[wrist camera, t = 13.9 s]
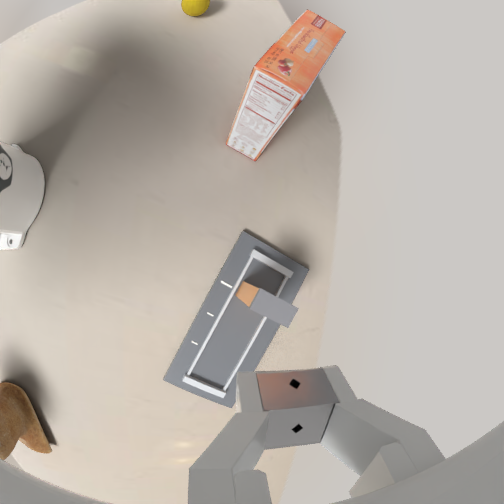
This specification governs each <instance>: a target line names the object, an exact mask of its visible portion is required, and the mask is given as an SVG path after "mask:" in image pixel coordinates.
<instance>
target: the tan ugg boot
mask: <svg viewBox="0 0 504 504" xmlns="http://www.w3.org/2000/svg"><path fill="white" fill-rule="evenodd" d="M18 440H20V441H21V442H22V443H23V444H25V445H26V446H27V447H28V448H30V449H32V450H34V451H36V452H40V453H50V452H52V449H51V447H50V445H49V442H48V440H47V438H46V436H45V434H44V431H43V429H42V427H41V425H40V422H39V420H38V418H37V416H36V413H35V411H34V409H33V407H32V405H31V402H30V400H29V398H28V396H27V395H26V393H25V392H24V390H23V389H22V388H20V387H19V386H17V385H15V384H12V383H8V382H2V383H0V459H2V460H4V459H6V458H7V457H8V456H9V455H10V453H11V452H12V451H13V449H14V447H15V445H16V443H17V441H18Z"/></svg>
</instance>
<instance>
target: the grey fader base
mask: <svg viewBox="0 0 504 504" xmlns="http://www.w3.org/2000/svg"><path fill="white" fill-rule="evenodd" d="M308 271H309V269H307V268H305V267H304V266H302V265H300V264H299V263H297V262H295V261H294V260H292V259H290V258H289V257H287V256H285V255H284V254H282V253H280V252H278V251H277V250H275V249H273V248H272V247H270V246H268V245H266V244H265V243H263V242H261V241H260V240H258V239H256V238H255V237H253V236H251V235H249V234H248V233H246V232H244V231H242V233H241V234H240V236H239V238H238V240H237V242H236V243H235V245H234V247H233V249H232V251H231V253H230V254H229V256H228V258H227V260H226V262H225V263H224V265H223V267H222V269H221V271H220V273H219V274H218V276H217V278H216V280H215V282H214V284H213V286H212V287H211V289H210V291H209V293H208V295H207V297H206V299H205V300H204V302H203V304H202V306H201V308H200V310H199V312H198V313H197V315H196V317H195V319H194V321H193V323H192V325H191V327H190V329H189V330H188V332H187V334H186V336H185V338H184V340H183V342H182V344H181V346H180V348H179V349H178V351H177V353H176V355H175V357H174V359H173V361H172V363H171V365H170V367H169V369H168V371H167V373H166V374H165V376H164V379H163V380H164V381H166V382H168V383H171V384H173V385H175V386H177V387H179V388H182V389H184V390H186V391H189V392H191V393H193V394H196V395H198V396H201V397H203V398H206V399H208V400H211V401H213V402H216V403H219V404H221V405H224V406H227V407H229V408H232V406H233V405H234V403H235V402H236V377H237V372H254V370H255V368H256V367H257V365H258V363H259V361H260V360H261V358H262V356H263V355H264V353H265V351H266V349H267V348H268V346H269V344H270V342H271V340H272V339H273V337H274V335H275V333H276V331H277V330H278V328H279V326H280V324H279V323H277V322H275V321H273V320H271V319H269V318H267V317H265V316H263V315H261V314H259V313H257V312H255V311H253V310H251V309H249V307H248V306H247V305H246V304H245V303H244V302H242V301H241V300H240V299H239V298H238V297H237V296H235V295H236V293H237V291H238V289H239V287H240V285H241V284H242V282H243V281H244V282H246V283H248V284H251V285H253V286H255V287H257V288H261V289H263V290H265V291H267V292H269V293H270V294H272V295H274V296H276V297H278V298H280V299H282V300H284V301H286V302H287V303H289V304H292V302H293V300H294V298H295V296H296V294H297V292H298V290H299V288H300V286H301V285H302V283H303V281H304V279H305V277H306V275H307V273H308Z"/></svg>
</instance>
